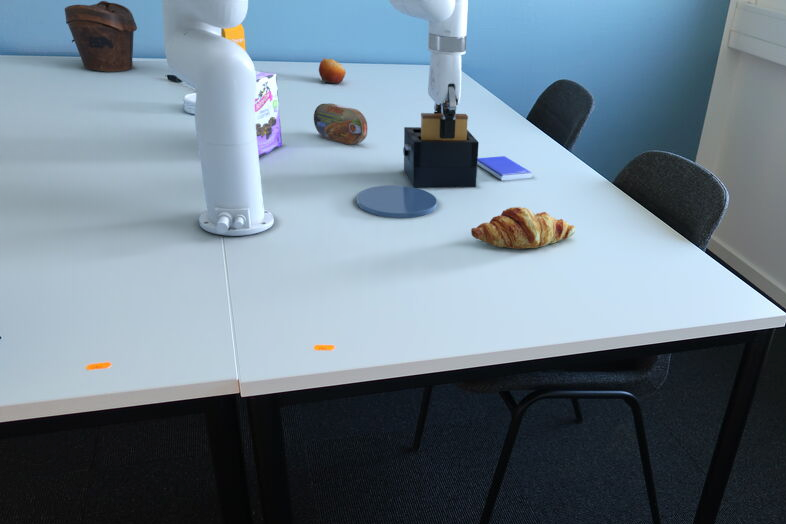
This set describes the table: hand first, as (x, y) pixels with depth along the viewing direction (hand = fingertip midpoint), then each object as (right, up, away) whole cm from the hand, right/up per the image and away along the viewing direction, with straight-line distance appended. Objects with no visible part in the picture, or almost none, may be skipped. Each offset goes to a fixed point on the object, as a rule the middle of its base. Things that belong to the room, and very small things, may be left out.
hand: (444, 133), depth 160 cm
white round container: (-67, +16, +34) cm, 77 cm away
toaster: (-2, -8, +8) cm, 11 cm away
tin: (-29, +6, +25) cm, 38 cm away
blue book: (+12, -4, +18) cm, 22 cm away
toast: (-1, -5, +3) cm, 6 cm away
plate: (-9, -16, -7) cm, 20 cm away
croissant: (+18, -26, -18) cm, 36 cm away
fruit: (-45, +39, +75) cm, 95 cm away
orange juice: (-73, +35, +64) cm, 103 cm away
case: (-108, +38, +62) cm, 130 cm away
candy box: (-44, -1, +11) cm, 46 cm away
